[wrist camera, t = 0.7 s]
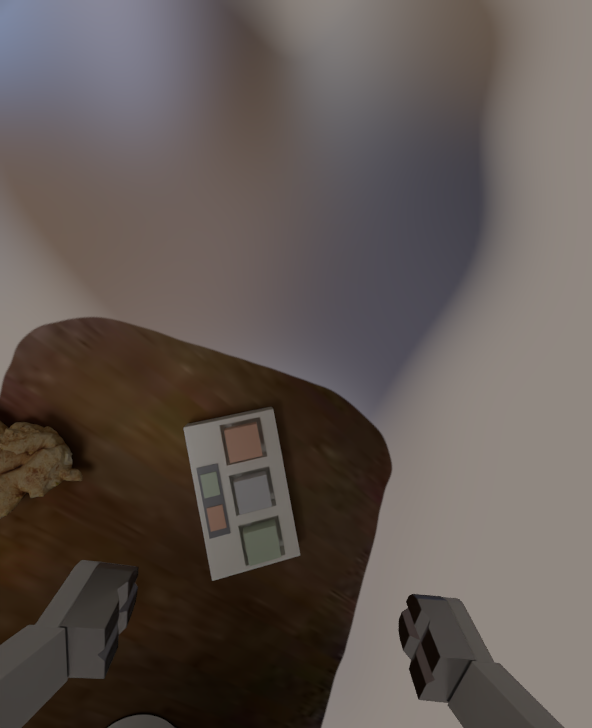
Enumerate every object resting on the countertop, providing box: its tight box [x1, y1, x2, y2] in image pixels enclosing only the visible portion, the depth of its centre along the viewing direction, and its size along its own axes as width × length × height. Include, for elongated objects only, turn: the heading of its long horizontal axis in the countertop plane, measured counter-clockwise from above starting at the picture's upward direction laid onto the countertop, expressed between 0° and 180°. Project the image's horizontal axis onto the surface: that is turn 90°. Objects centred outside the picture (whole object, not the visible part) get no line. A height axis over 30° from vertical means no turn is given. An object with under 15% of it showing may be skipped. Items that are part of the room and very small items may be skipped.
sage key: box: [243, 520, 281, 566], centre depth 49 cm, size 5×5×2 cm
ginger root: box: [0, 421, 83, 518], centre depth 44 cm, size 16×16×8 cm
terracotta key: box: [224, 422, 263, 463], centre depth 48 cm, size 5×5×2 cm
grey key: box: [234, 471, 272, 515], centre depth 49 cm, size 5×5×2 cm
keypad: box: [184, 407, 300, 581], centre depth 50 cm, size 24×14×4 cm, turn 11°
